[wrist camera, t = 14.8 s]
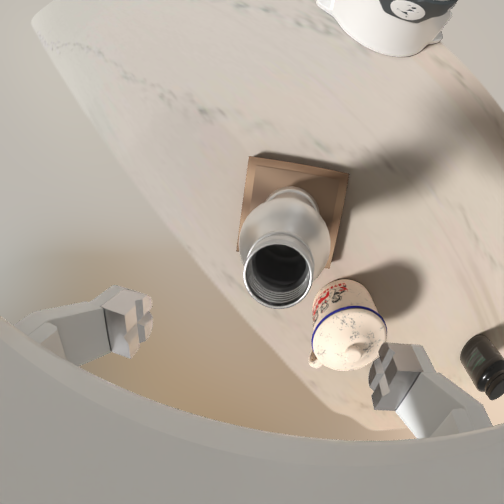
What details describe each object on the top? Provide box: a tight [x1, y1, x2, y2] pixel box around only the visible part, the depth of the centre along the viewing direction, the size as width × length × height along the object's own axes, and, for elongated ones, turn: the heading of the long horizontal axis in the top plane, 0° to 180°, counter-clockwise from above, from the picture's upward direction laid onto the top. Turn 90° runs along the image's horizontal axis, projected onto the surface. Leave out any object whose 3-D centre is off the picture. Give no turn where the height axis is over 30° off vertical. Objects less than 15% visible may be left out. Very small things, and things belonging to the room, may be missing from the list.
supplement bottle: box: [460, 335, 504, 400], centre depth 30 cm, size 7×7×12 cm
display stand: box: [236, 156, 349, 269], centre depth 34 cm, size 12×12×2 cm
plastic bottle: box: [239, 186, 331, 309], centre depth 23 cm, size 6×7×20 cm
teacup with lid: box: [309, 279, 387, 371], centre depth 32 cm, size 12×9×12 cm
